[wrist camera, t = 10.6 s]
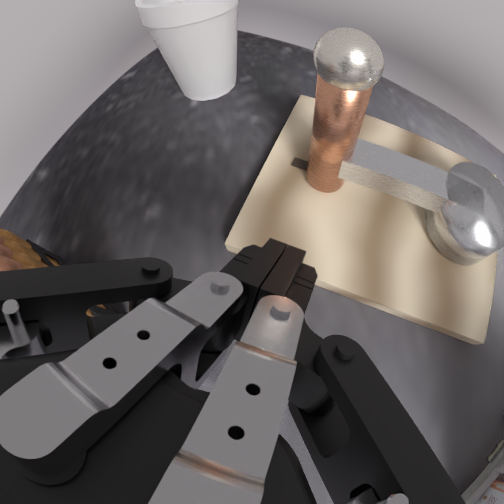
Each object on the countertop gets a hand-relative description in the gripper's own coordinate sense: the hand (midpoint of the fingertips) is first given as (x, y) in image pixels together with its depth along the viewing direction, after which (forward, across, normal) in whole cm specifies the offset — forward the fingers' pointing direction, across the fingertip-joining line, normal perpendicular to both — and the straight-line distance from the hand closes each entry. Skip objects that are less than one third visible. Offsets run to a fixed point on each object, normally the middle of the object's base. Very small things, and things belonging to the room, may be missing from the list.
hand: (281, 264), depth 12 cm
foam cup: (+21, +16, -7) cm, 28 cm away
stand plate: (+15, -6, -1) cm, 16 cm away
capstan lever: (+13, -7, -2) cm, 15 cm away
